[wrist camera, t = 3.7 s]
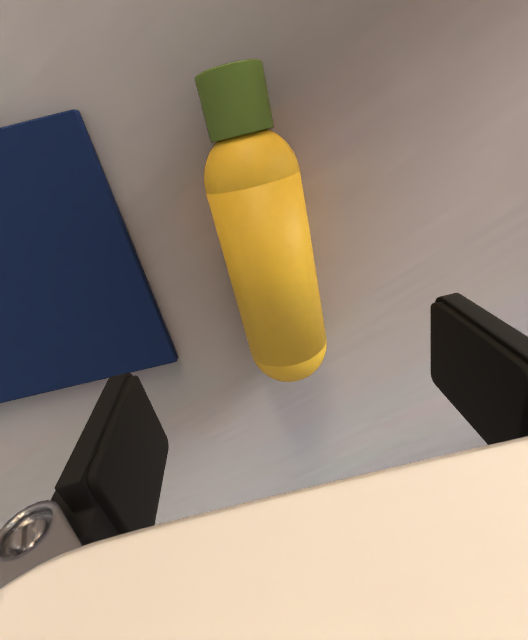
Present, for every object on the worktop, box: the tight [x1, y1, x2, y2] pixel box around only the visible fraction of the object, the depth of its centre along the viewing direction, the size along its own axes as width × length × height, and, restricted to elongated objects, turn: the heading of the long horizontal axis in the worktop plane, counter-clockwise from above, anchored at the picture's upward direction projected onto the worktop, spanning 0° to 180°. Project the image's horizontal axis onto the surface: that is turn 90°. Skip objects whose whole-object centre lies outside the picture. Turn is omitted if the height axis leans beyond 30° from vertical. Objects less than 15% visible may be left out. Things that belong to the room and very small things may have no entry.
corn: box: [195, 59, 327, 382], centre depth 18 cm, size 16×4×4 cm, turn 13°
